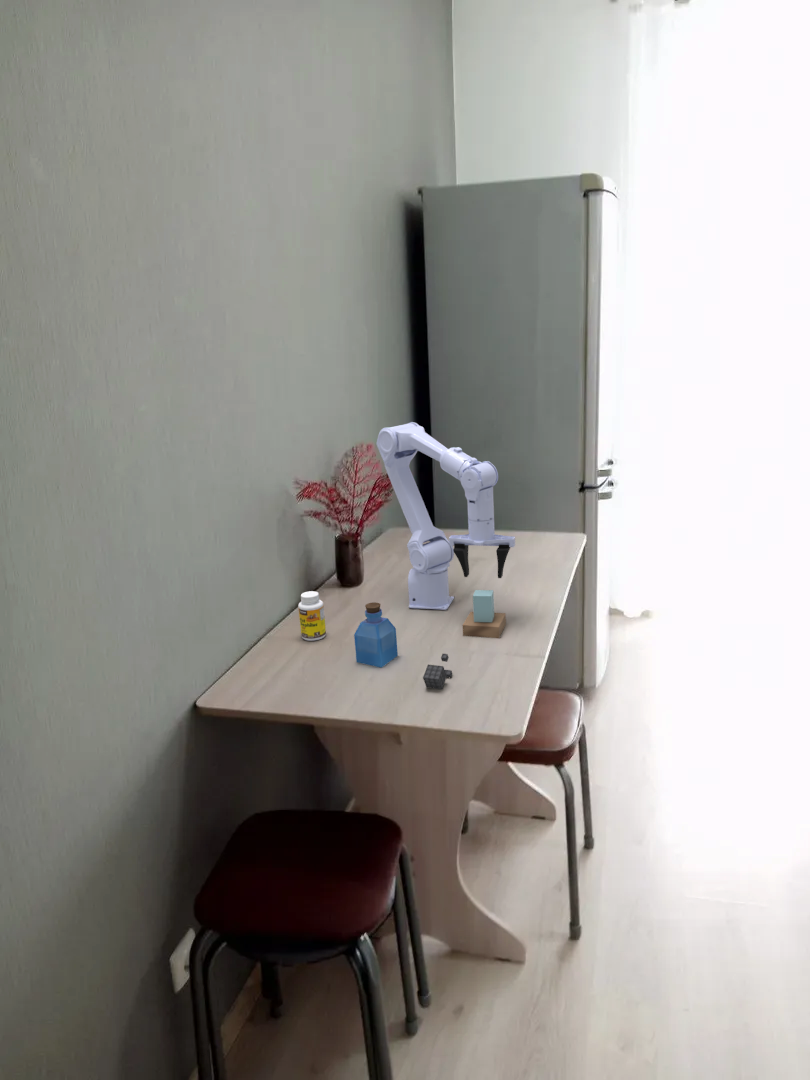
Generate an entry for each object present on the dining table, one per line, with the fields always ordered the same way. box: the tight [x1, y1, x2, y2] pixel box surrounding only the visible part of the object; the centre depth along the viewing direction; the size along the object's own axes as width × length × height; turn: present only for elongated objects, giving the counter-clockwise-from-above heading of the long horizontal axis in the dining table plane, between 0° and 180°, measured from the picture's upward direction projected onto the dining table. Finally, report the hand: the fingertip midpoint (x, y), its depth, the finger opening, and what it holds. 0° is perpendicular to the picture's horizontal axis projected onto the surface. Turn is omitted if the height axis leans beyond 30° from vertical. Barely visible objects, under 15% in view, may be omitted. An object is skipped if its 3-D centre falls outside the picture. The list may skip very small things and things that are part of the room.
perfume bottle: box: [353, 601, 399, 669], centre depth 168 cm, size 6×6×12 cm
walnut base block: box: [461, 611, 507, 639], centre depth 180 cm, size 8×8×3 cm
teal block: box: [472, 589, 495, 622], centre depth 179 cm, size 4×4×6 cm
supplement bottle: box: [297, 590, 327, 642], centre depth 181 cm, size 6×6×10 cm
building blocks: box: [422, 653, 453, 690], centre depth 158 cm, size 3×6×8 cm
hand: (483, 576), depth 183 cm, fingers open, 7 cm apart
